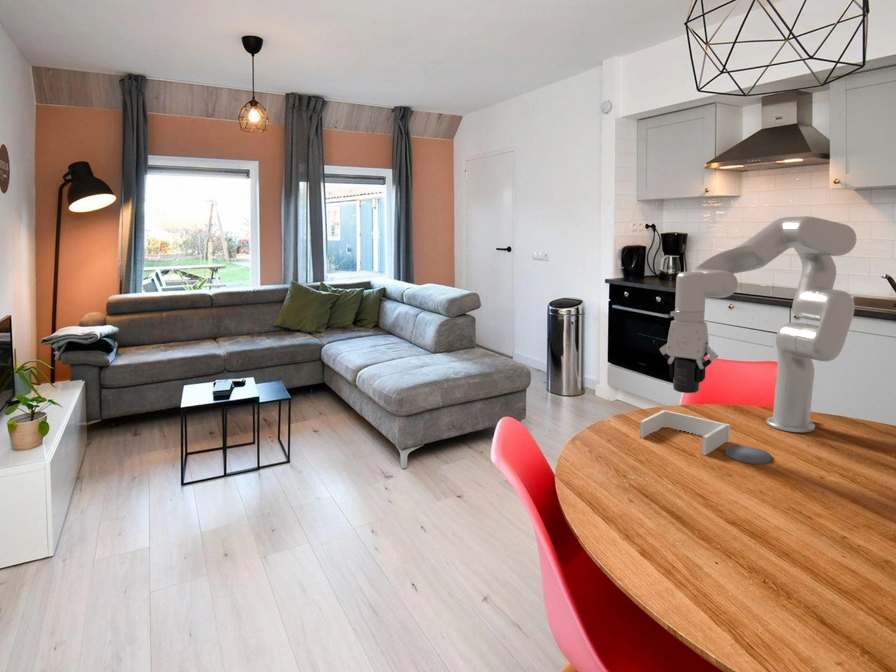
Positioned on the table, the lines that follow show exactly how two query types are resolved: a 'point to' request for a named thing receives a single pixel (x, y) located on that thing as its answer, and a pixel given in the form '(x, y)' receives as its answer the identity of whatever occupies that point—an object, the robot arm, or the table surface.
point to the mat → (748, 454)
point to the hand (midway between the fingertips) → (686, 378)
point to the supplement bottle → (685, 375)
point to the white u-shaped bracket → (689, 428)
